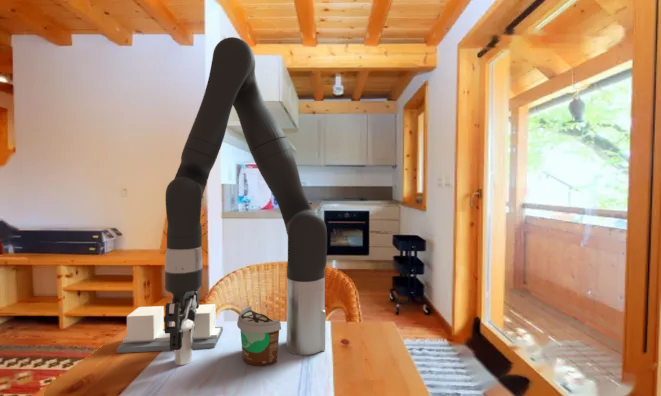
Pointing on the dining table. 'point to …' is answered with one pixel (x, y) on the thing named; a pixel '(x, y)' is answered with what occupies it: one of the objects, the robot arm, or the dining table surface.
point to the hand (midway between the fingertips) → (183, 339)
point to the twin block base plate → (150, 333)
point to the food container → (258, 338)
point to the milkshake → (185, 343)
